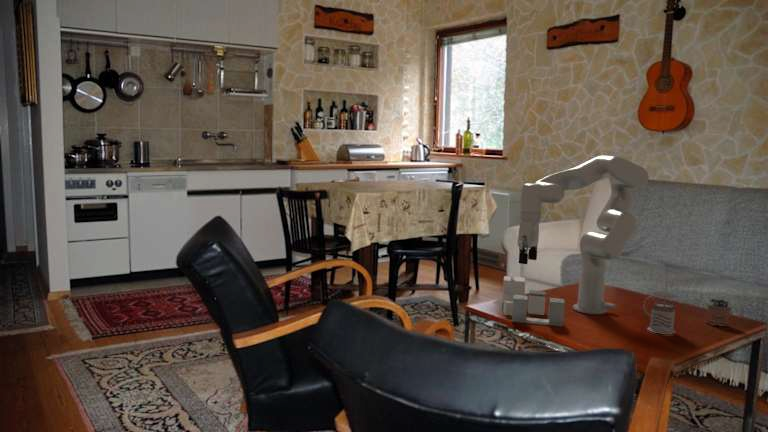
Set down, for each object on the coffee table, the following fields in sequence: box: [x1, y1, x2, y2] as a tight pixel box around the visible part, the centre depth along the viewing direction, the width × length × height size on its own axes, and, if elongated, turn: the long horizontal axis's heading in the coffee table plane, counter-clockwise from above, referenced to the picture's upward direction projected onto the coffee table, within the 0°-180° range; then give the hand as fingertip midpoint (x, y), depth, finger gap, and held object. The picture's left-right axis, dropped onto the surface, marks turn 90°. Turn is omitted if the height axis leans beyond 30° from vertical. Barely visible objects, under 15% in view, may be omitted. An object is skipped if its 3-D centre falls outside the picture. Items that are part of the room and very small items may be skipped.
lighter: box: [705, 298, 732, 326], centre depth 242 cm, size 8×3×10 cm, turn 71°
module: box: [527, 289, 546, 316], centre depth 250 cm, size 6×6×8 cm
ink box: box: [501, 272, 526, 310], centre depth 255 cm, size 9×8×13 cm
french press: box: [643, 262, 678, 334], centre depth 231 cm, size 10×12×25 cm
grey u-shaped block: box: [511, 294, 565, 328], centre depth 235 cm, size 18×6×9 cm, turn 78°
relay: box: [502, 300, 513, 317], centre depth 245 cm, size 4×4×5 cm
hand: (527, 261), depth 242 cm, fingers open, 9 cm apart
